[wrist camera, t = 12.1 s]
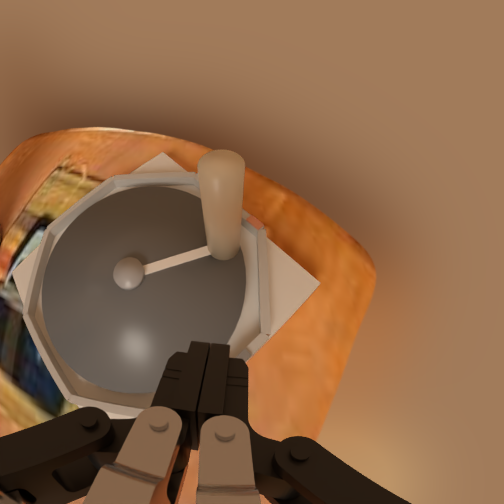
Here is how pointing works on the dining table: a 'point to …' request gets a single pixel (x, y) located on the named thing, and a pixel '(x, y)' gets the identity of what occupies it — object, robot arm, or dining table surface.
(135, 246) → the dial
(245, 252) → the dial plate
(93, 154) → the dining table surface
